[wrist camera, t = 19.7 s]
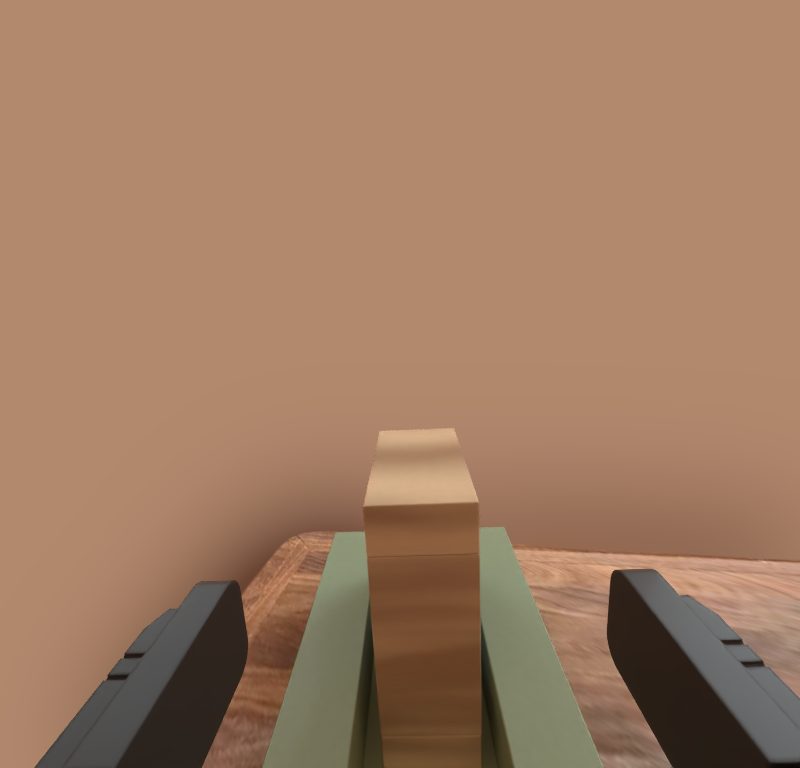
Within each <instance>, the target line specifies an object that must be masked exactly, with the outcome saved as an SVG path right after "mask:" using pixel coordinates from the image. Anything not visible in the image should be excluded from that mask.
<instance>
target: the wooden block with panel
mask: <svg viewBox="0 0 800 768" xmlns="http://www.w3.org/2000/svg"><path fill="white" fill-rule="evenodd" d="M363 515H364V529H365V542H366V554H367V568H368V580H369V593H370V606H371V619H372V632H373V645H374V658H375V671H376V684H377V697H378V709H379V722H380V734H381V747H382V760H383V768H482V702H481V612H480V554H479V552H480V527H479V501H478V498H477V495H476V492H475V489H474V486H473V483H472V480H471V477H470V474H469V471H468V468H467V465H466V462H465V459H464V457H463V454H462V451H461V448H460V445H459V442H458V439H457V436H456V433H455V430H454V428H443V429H419V430H396V431H380V432H379V437H378V441H377V446H376V450H375V455H374V459H373V464H372V468H371V473H370V477H369V482H368V486H367V491H366V495H365V500H364V504H363Z"/></svg>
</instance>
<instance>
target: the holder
mask: <svg viewBox="0 0 800 768" xmlns="http://www.w3.org/2000/svg"><path fill="white" fill-rule="evenodd" d="M479 554H480V612H481V702H482V768H604V766H603V764H602V761H601V759H600V757H599V754H598V752H597V749H596V747H595V745H594V742H593V740H592V737H591V735H590V733H589V730H588V728H587V725H586V723H585V721H584V718H583V716H582V713H581V711H580V709H579V706H578V704H577V701H576V699H575V696H574V694H573V692H572V689H571V687H570V684H569V682H568V680H567V677H566V675H565V672H564V670H563V668H562V665H561V663H560V660H559V658H558V656H557V653H556V651H555V648H554V646H553V644H552V641H551V639H550V636H549V634H548V632H547V629H546V627H545V624H544V622H543V620H542V617H541V615H540V612H539V610H538V607H537V605H536V603H535V600H534V598H533V595H532V593H531V591H530V588H529V586H528V583H527V581H526V579H525V576H524V574H523V571H522V569H521V567H520V564H519V562H518V559H517V557H516V555H515V552H514V550H513V547H512V545H511V543H510V540H509V538H508V535H507V533H506V531H505V528H504V527H489V528H480V552H479ZM262 768H383V760H382V747H381V734H380V722H379V709H378V697H377V684H376V671H375V658H374V645H373V632H372V619H371V606H370V593H369V580H368V568H367V554H366V542H365V532H342V533H335V535H334V539H333V542H332V545H331V548H330V551H329V555H328V558H327V561H326V564H325V567H324V571H323V574H322V577H321V580H320V583H319V587H318V590H317V593H316V596H315V599H314V603H313V606H312V609H311V612H310V616H309V619H308V622H307V625H306V628H305V632H304V635H303V638H302V641H301V644H300V648H299V651H298V654H297V657H296V660H295V664H294V667H293V670H292V673H291V676H290V680H289V683H288V686H287V689H286V692H285V696H284V699H283V702H282V705H281V708H280V712H279V715H278V718H277V721H276V724H275V728H274V731H273V734H272V737H271V741H270V744H269V747H268V750H267V753H266V757H265V760H264V763H263V766H262Z"/></svg>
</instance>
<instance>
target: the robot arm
mask: <svg viewBox="0 0 800 768" xmlns="http://www.w3.org/2000/svg"><path fill="white" fill-rule="evenodd" d="M607 639H608V645H609V649H610V652H611V656H612V658H613V661H614V663H615V665H616V667H617V669H618V671H619V673H620V675H621V676H622V678H623V680H624V682H625V684H626V685H627V687H628V689H629V691H630V692H631V694H632V696H633V698H634V699H635V701H636V703H637V705H638V707H639V708H640V710H641V712H642V714H643V715H644V717H645V719H646V721H647V723H648V724H649V726H650V728H651V730H652V731H653V733H654V735H655V737H656V739H657V740H658V742H659V744H660V746H661V747H662V749H663V751H664V753H665V755H666V756H667V758H668V760H669V762H670V763H671V765H672V767H673V768H800V698H799V697H798V696H797V695H796V694H795V693H794V692H793V691H792V690H791V689H790V688H789V687H788V686H787V685H786V684H785V683H784V682H783V681H782V680H781V679H780V678H779V677H778V676H777V675H776V674H775V673H774V672H773V671H772V670H771V669H770V668H769V667H765V665H764V663H763V660H762V659H761V658H760V657H759V656H758V655H757V654H756V653H755V652H754V651H753V650H752V649H751V648H750V647H749V646H748V645H744V644H743V642H742V639H741V638H740V637H739V636H738V635H737V634H736V633H735V632H734V631H733V630H732V629H731V628H730V627H729V626H728V625H727V624H726V623H725V622H724V620H723V619H722V618H721V617H720V616H719V615H717V614H716V613H714V612H713V611H711V610H710V609H708V608H707V607H705V606H704V605H702V604H701V603H699V602H698V601H696V600H694V599H693V598H691V597H690V596H688V595H683V596H680V595H679V594H678V593H677V592H676V591H675V590H674V589H673V588H672V587H671V586H670V584H669V583H668V582H667V581H666V580H665V579H664V578H663V577H662V576H661V575H660V574H659V573H658V572H657V571H656V570H654V569H628V570H614V571H613V573H612V575H611V581H610V595H609V609H608V623H607ZM247 653H248V637H247V630H246V624H245V617H244V611H243V604H242V598H241V592H240V587H239V584H238V582H237V581H235V580H230V581H202V582H199V583H197V584H196V585H195V586H194V587H193V589H192V590H191V591H190V593H189V594H188V596H187V597H186V598H185V600H184V601H183V602H182V604H181V605H180V606H179V608H178V609H169V610H168V611H166V612H165V613H164V614H163V615H161V616H160V617H159V618H158V619H156V620H155V621H154V622H153V623H151V624H150V625H149V626H147V627H146V628H145V629H144V630H143V631H142V632H141V634H140V635H139V636H138V637H137V639H136V640H135V641H134V643H133V644H132V645H131V646H130V648H129V649H128V650H127V651H126V653H125V656H124V658H123V659H120V660H119V661H118V663H117V664H116V665H115V667H114V668H113V669H112V670H111V672H110V673H109V674H108V678H107V680H106V681H103V682H102V683H101V684H100V685H99V687H98V688H97V689H96V691H95V692H94V693H93V694H92V696H91V697H90V698H89V699H88V701H87V702H86V703H85V704H84V706H83V707H82V708H81V709H80V711H79V712H78V713H77V714H76V716H75V717H74V718H73V720H72V721H71V722H70V723H69V725H68V726H67V727H66V728H65V730H64V731H63V732H62V734H61V735H60V736H59V737H58V739H57V740H56V741H55V742H54V744H53V745H52V746H51V747H50V749H49V750H48V751H47V752H46V754H45V755H44V756H43V758H42V759H41V760H40V761H39V763H38V764H37V765H36V766H35V768H202V766H203V763H204V761H205V759H206V757H207V754H208V752H209V750H210V747H211V745H212V743H213V740H214V738H215V736H216V734H217V731H218V729H219V727H220V724H221V722H222V720H223V718H224V715H225V713H226V711H227V708H228V706H229V704H230V702H231V699H232V697H233V695H234V692H235V690H236V688H237V686H238V683H239V681H240V679H241V676H242V674H243V671H244V668H245V664H246V659H247Z"/></svg>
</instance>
